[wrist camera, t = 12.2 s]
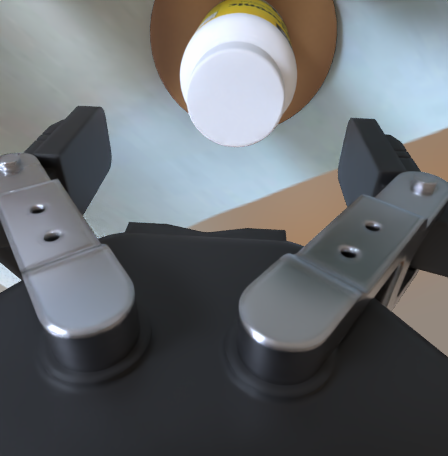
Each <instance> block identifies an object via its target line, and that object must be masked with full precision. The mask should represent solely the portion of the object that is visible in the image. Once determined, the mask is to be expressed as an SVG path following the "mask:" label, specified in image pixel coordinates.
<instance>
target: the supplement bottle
mask: <svg viewBox="0 0 448 456" xmlns="http://www.w3.org/2000/svg"><path fill="white" fill-rule="evenodd" d="M296 83H297V66H296V60H295V55H294V51H293V49H292V45H291V41H290V37H289V34H288V30H287V27H286V25H285V23H284V21H283V19H282V17H281V16H280V14H279V13H278V12H277V11H276V9H275V8H274V7H272V6H271V5H270V4H269V3H267V2H266V1H264V0H223V1H222V2H220V3H219V4H217V5H216V6H215V7H214V8H212V9H211V10H210V11H209V12H208V14H207V15H206V16H205V18H204V19H203V21H202V22H201V24H200V25H199V27H198V29H197V30H196V32H195V33H194V35H193V36H192V38H191V40H190V41H189V43H188V45H187V47H186V50H185V52H184V55H183V58H182V62H181V67H180V85H181V90H182V94H183V97H184V100H185V102H186V104H187V109H188V112H189V115H190V118H191V120H192V122H193V123H194V125H195V126H196V128H197V129H198V130H199V131H200V132H201V133H202V134H203V135H204V136H205V137H206V138H208V139H209V140H211V141H213V142H215V143H217V144H220V145H224V146H229V147H244V146H249V145H252V144H255V143H257V142H259V141H261V140H262V139H264V138H265V137H267V136H268V135H269V134H270V133H271V132H272V131H273V130H274V129H275V127H276V126H277V124H278V123H279V121H280V119H281V117H282V115H283V114H284V112H285V111H286V110H287V108H288V106H289V105H290V103H291V101H292V99H293V96H294V92H295V89H296Z"/></svg>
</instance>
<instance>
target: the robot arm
mask: <svg viewBox="0 0 448 456" xmlns="http://www.w3.org/2000/svg"><path fill="white" fill-rule="evenodd" d="M111 160H112V155H111V147H110V141H109V135H108V129H107V123H106V117H105V113H104V110H103V108H102V107H93V106H77V107H76V108H75V109H74V110H73V111H72V112H71V113H70V115H69V116H68V117H67V118H66V119H65V120H61V121H59V122H57V123H55V124H53V125H51V126H49V127H48V128H47V129H46V130H45V131H44V132H43V135H40V136H39V137H38V138H37V141H35V142H34V143H33V144H32V145H31V146H30V147H29V148H28V149H27V150H26V151H25V152H24V153H11V154H5V155H1V156H0V263H2V264H3V265H4V266H5V267H6V268H8V269H9V270H10V271H11V272H12V273H14V274H15V275H16V276H17V277H18V278H20V279H21V280H22V281H20V282H18V283H17V284H15V285H13V286H11V287H10V288H8V289H6V290H5V291H3V292H1V293H0V456H448V357H447V356H446V355H444V354H443V353H442V352H441V351H439V350H438V349H437V348H436V347H435V346H433V345H432V344H431V343H430V342H428V341H427V340H426V339H425V338H424V337H422V336H421V335H420V334H419V333H417V332H416V331H415V330H413V329H412V328H411V327H410V326H409V325H407V324H406V323H405V322H404V321H402V320H401V319H400V318H399V317H398V316H396V315H395V314H394V313H393V312H392V310H393V309H394V307H395V306H396V304H397V303H398V301H399V300H400V298H401V297H402V295H403V294H404V293H405V291H406V290H407V288H408V287H409V285H410V284H411V282H412V281H413V279H414V278H415V276H416V275H417V273H418V271H419V270H423V271H427V272H430V273H434V274H438V275H442V276H445V277H448V182H446V181H445V180H443V179H442V178H440V177H437V176H435V175H432V174H429V173H425V172H421V171H420V169H419V168H418V167H417V165H416V163H415V162H414V161H413V159H412V158H411V156H410V155H409V153H408V152H406V149H405V147H404V146H403V144H402V143H401V142H400V141H399V140H397V139H396V138H394V137H393V136H391V135H386V134H384V133H383V131H382V129H381V128H380V126H379V125H378V123H377V121H376V120H375V119H364V118H351V119H350V120H349V122H348V125H347V129H346V133H345V138H344V142H343V147H342V152H341V156H340V161H339V166H338V180H339V183H340V186H341V189H342V193H343V196H344V199H345V202H346V205H347V208H346V209H345V210H344V211H343V212H342V213H341V214H340V215H338V216H337V217H336V218H335V219H334V220H333V221H332V222H331V223H330V224H329V225H328V226H326V228H324V229H323V230H322V231H321V232H320V233H319V234H318V235H317V236H315V238H313V239H312V240H311V241H310V242H309V243H308V244H307V245H306V246H301V245H299V244H296V243H293V242H289V241H286V231H285V230H271V229H252V228H245V229H235V230H226V231H217V232H200V231H196V230H191V229H187V228H182V227H178V226H173V225H169V224H156V223H137V222H129V224H128V226H127V228H126V231H125V232H124V233H117V234H112V235H108V236H105V237H102V238H99V239H98V238H97V237H96V235H95V234H94V232H93V231H92V229H91V228H90V226H89V225H88V223H87V222H86V220H85V219H84V217H83V214H84V213H85V211H86V209H87V208H88V206H89V204H90V202H91V201H92V199H93V197H94V195H95V194H96V192H97V190H98V189H99V187H100V185H101V183H102V182H103V180H104V178H105V177H106V175H107V173H108V171H109V169H110V167H111Z"/></svg>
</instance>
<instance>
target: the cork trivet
mask: <svg viewBox="0 0 448 456" xmlns="http://www.w3.org/2000/svg"><path fill="white" fill-rule="evenodd" d="M222 1H223V0H155V1H154V5H153V10H152V14H151V24H150V42H151V49H152V55H153V59H154V62H155V66H156V69H157V71H158V74H159V76H160V78H161V80H162V82H163V84H164V86H165V88H166V89H167V91H168V92H169V93H170V95H171V96H172V98H173V99H174V100H175V101H176V102H177V103H178V104H179V105H180V106H181V107H182V108H183V109H184V110H185V111H186V112H187V113H189V112H188V109H187V104H186V102H185V100H184V97H183V94H182V90H181V85H180V67H181V62H182V58H183V55H184V52H185V50H186V47H187V45H188V43H189V41H190V40H191V38H192V36H193V35H194V33H195V32H196V30H197V29H198V27H199V25H200V24H201V22H202V21H203V19H204V18H205V16H206V15H207V14H208V12H209V11H210V10H211V9H212V8H214V7H215V6H216V5H217V4H219V3H220V2H222ZM264 1H266V2H267V3H269V4H270V5H271V6H272V7H274V8H275V9H276V11H277V12H278V13H279V14H280V16H281V17H282V19H283V21H284V23H285V25H286V27H287V30H288V34H289V37H290V41H291V45H292V49H293V51H294V55H295V60H296V66H297V83H296V89H295V92H294V96H293V99H292V101H291V103H290V105H289V106H288V108H287V110H286V111H285V112H284V114H283V115H282V117H281V119H280V121H279V123H278V124H280V123H282V122H284V121H285V120H287V119H289V118H291V117H292V116H293V115H295V114H296V113H298V112H299V111H300V110H301V109H302V108H303V107H304V106H306V105H307V104H308V103H309V101H310V100H311V99H312V98H313V97H314V96H315V94H316V93H317V91H318V90H319V88H320V87H321V85H322V84H323V82H324V80H325V78H326V76H327V74H328V72H329V69H330V66H331V64H332V61H333V56H334V52H335V48H336V39H337V19H336V12H335V6H334V2H333V0H264Z"/></svg>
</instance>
